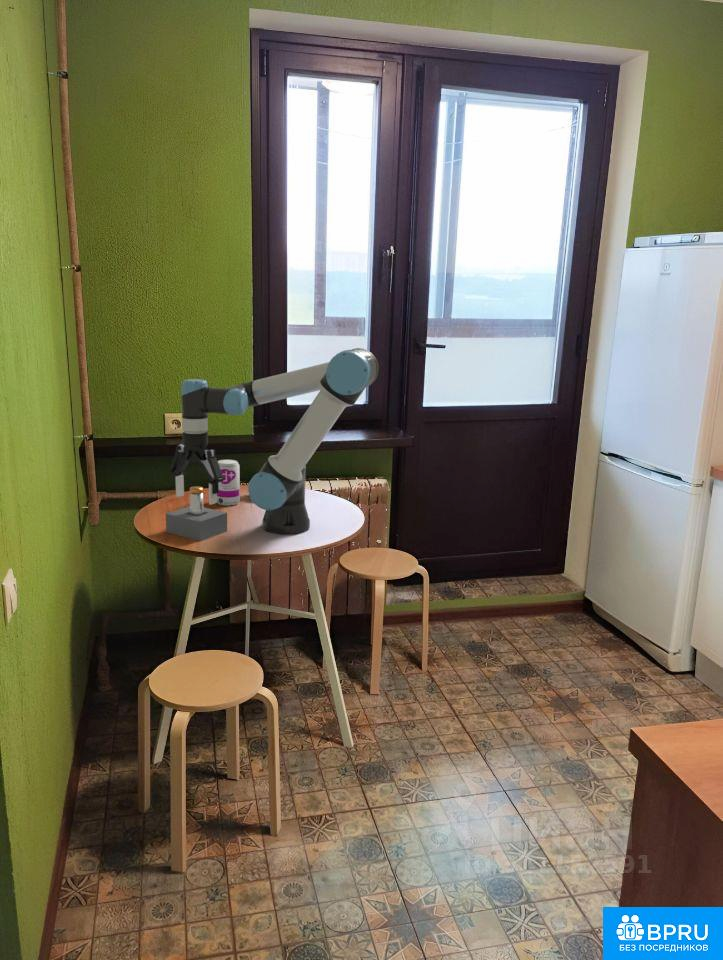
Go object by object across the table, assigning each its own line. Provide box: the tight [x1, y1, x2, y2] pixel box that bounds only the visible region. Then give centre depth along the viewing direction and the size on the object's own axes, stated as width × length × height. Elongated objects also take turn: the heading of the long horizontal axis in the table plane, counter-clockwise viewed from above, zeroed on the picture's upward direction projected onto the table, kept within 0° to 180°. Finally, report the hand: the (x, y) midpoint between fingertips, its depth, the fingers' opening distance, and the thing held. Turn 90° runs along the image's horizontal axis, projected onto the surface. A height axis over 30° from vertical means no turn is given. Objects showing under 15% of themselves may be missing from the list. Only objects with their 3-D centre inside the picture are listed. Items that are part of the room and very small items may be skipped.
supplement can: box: [216, 459, 241, 507], centre depth 259 cm, size 8×8×15 cm
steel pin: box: [189, 485, 204, 516], centre depth 227 cm, size 4×4×14 cm
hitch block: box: [165, 505, 228, 542], centre depth 228 cm, size 14×12×6 cm
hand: (196, 499), depth 226 cm, fingers open, 13 cm apart
